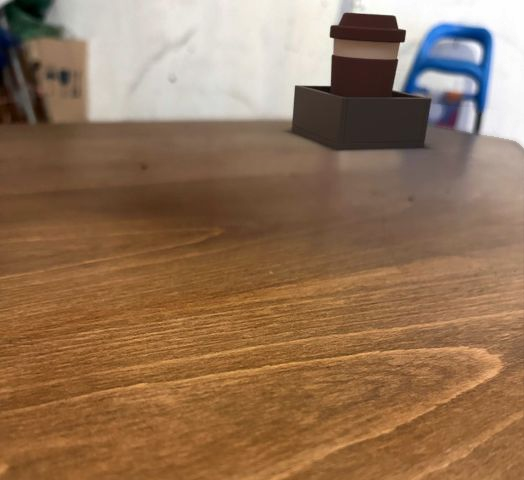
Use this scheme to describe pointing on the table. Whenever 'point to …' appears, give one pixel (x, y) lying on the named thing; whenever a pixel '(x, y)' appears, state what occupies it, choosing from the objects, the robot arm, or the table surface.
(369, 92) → the coffee cup
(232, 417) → the table surface
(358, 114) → the basket
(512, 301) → the table surface
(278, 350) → the table surface
